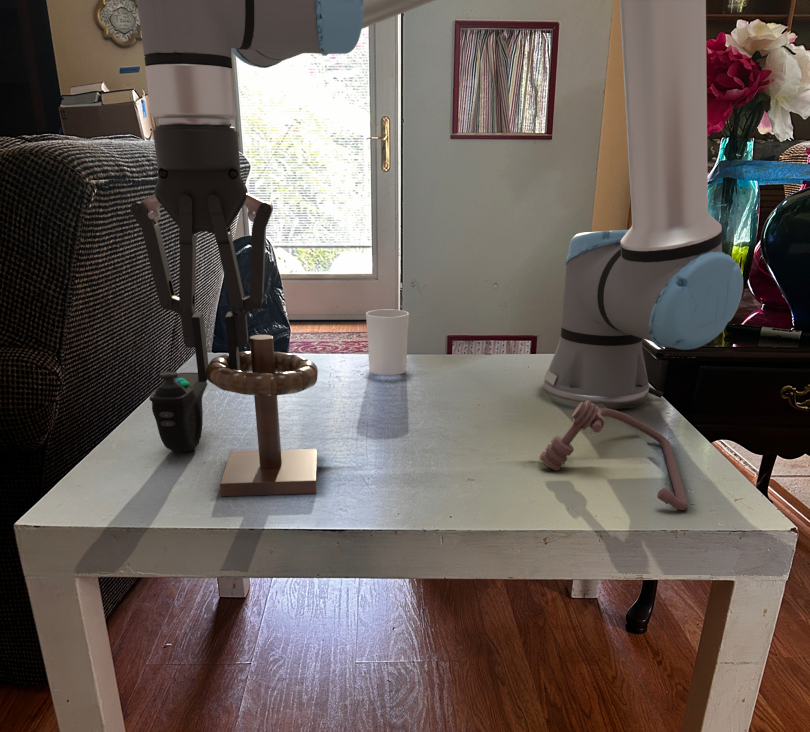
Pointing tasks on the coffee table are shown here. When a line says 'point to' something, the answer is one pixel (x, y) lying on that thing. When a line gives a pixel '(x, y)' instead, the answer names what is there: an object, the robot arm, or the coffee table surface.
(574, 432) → the toilet paper hanger
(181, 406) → the controller
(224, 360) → the ring
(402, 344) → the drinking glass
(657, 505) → the coffee table surface
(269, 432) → the stand
